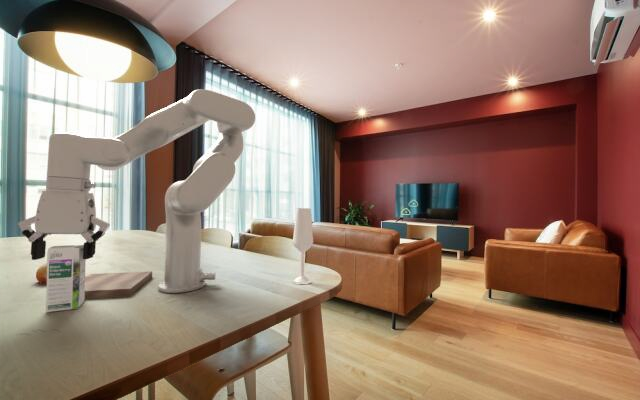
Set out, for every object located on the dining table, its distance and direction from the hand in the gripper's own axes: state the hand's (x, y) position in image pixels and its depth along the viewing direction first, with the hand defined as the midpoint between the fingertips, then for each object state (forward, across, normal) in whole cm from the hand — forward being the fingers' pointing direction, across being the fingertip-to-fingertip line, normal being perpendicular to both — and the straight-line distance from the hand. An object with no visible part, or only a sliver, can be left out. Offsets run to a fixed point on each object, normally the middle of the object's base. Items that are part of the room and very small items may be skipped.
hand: (63, 258), depth 65 cm
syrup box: (+12, -1, 0) cm, 12 cm away
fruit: (+12, +14, -26) cm, 32 cm away
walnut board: (+11, -4, -14) cm, 19 cm away
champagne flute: (+10, -60, -9) cm, 61 cm away
